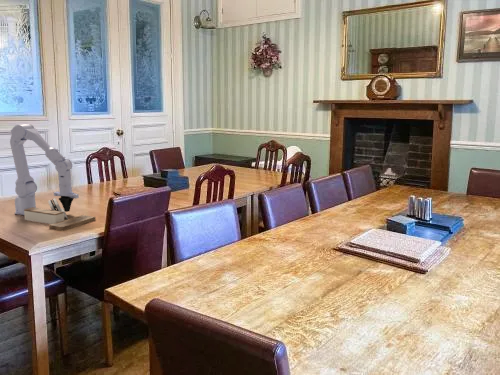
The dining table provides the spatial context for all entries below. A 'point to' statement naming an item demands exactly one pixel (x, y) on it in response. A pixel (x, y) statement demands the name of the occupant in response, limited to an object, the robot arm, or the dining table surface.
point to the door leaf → (72, 222)
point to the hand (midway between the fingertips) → (67, 211)
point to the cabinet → (43, 215)
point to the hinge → (56, 206)
